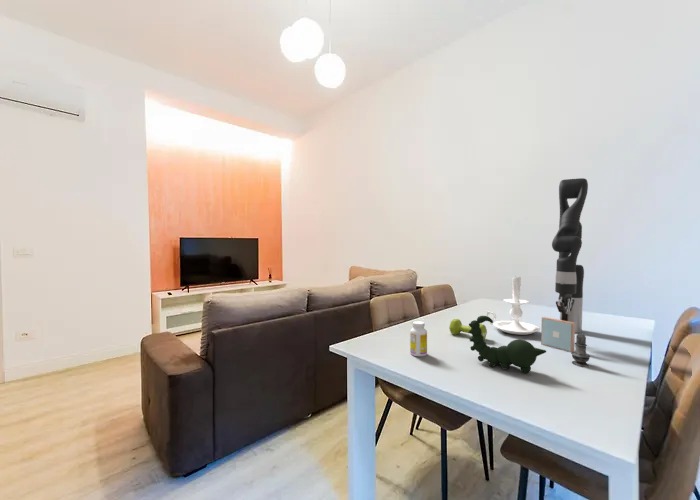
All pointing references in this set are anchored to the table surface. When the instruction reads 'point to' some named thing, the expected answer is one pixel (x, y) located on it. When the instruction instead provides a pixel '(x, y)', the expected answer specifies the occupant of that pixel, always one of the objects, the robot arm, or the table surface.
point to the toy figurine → (503, 349)
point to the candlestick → (515, 314)
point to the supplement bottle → (418, 339)
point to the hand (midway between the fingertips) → (564, 321)
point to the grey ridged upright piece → (580, 352)
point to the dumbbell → (464, 328)
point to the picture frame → (558, 334)
